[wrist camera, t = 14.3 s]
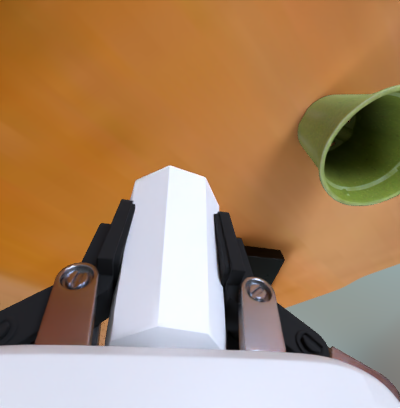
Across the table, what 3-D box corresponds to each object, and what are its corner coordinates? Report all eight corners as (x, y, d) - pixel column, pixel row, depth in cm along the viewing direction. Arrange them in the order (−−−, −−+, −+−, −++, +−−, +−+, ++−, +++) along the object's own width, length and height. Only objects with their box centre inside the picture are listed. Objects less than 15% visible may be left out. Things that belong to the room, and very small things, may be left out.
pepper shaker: (217, 238, 16) (268, 505, 6) (135, 242, 15) (64, 527, 6) (219, 162, 13) (321, 453, 3) (118, 166, 12) (-68, 492, 3)
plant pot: (367, 54, 21) (460, 54, 14) (375, 143, 26) (448, 177, 19) (270, 104, 23) (308, 127, 16) (294, 178, 28) (331, 222, 21)
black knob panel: (174, 288, 38) (173, 300, 36) (184, 238, 32) (184, 249, 31) (256, 296, 40) (259, 307, 38) (280, 249, 35) (285, 260, 33)
